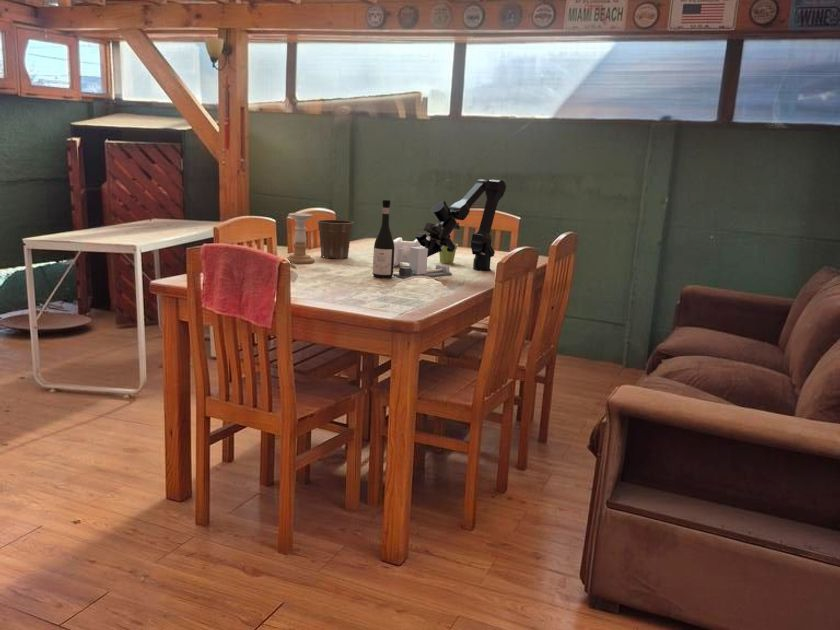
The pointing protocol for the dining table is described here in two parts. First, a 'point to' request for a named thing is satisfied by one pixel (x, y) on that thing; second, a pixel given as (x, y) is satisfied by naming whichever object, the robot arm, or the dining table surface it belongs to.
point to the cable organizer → (403, 250)
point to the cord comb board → (408, 272)
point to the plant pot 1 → (335, 237)
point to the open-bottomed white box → (418, 260)
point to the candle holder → (300, 239)
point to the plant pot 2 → (447, 255)
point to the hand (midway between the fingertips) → (423, 257)
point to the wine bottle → (384, 247)
